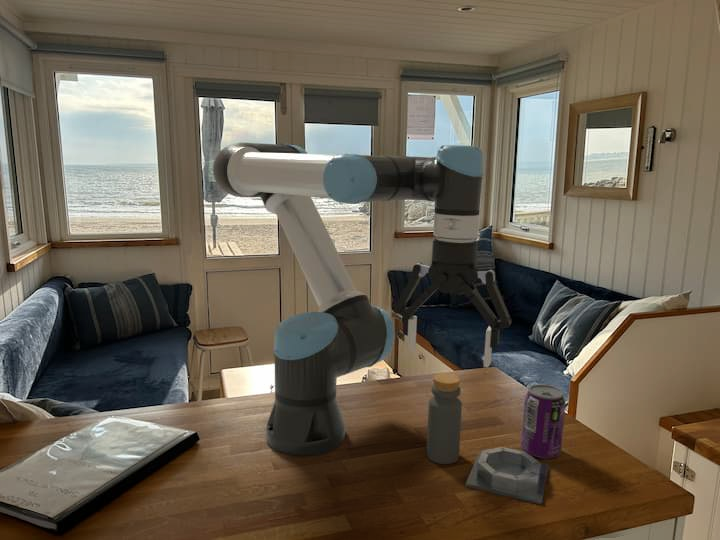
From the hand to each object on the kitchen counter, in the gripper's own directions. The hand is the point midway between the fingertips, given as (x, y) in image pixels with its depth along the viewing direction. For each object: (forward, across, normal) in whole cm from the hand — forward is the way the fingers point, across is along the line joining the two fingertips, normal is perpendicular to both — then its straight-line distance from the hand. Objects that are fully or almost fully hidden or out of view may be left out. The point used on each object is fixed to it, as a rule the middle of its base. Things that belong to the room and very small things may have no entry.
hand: (448, 358), depth 99 cm
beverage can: (+19, +16, +9) cm, 26 cm away
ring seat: (+18, +12, -2) cm, 22 cm away
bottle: (+19, 0, 0) cm, 19 cm away
